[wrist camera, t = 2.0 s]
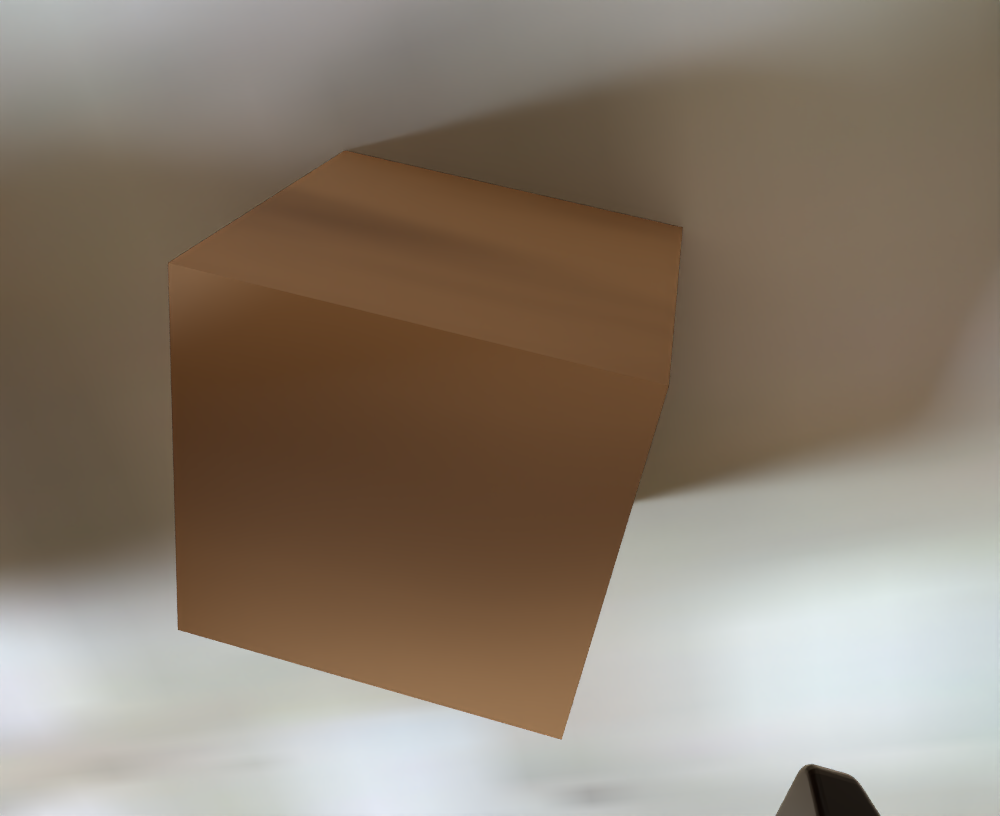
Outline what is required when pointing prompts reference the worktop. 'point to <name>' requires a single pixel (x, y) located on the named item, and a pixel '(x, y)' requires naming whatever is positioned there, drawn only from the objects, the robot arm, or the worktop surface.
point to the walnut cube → (416, 429)
